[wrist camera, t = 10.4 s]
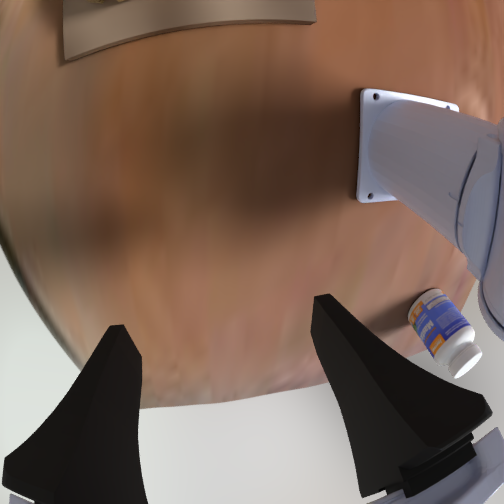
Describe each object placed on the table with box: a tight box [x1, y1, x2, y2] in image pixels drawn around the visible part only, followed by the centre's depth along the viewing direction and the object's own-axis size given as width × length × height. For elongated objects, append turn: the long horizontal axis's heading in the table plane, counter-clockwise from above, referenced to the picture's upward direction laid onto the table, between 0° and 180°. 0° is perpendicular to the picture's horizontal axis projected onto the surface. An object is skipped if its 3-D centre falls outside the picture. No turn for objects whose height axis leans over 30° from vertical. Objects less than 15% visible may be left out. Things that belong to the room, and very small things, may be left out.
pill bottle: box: [408, 289, 482, 379], centre depth 24 cm, size 5×5×10 cm
